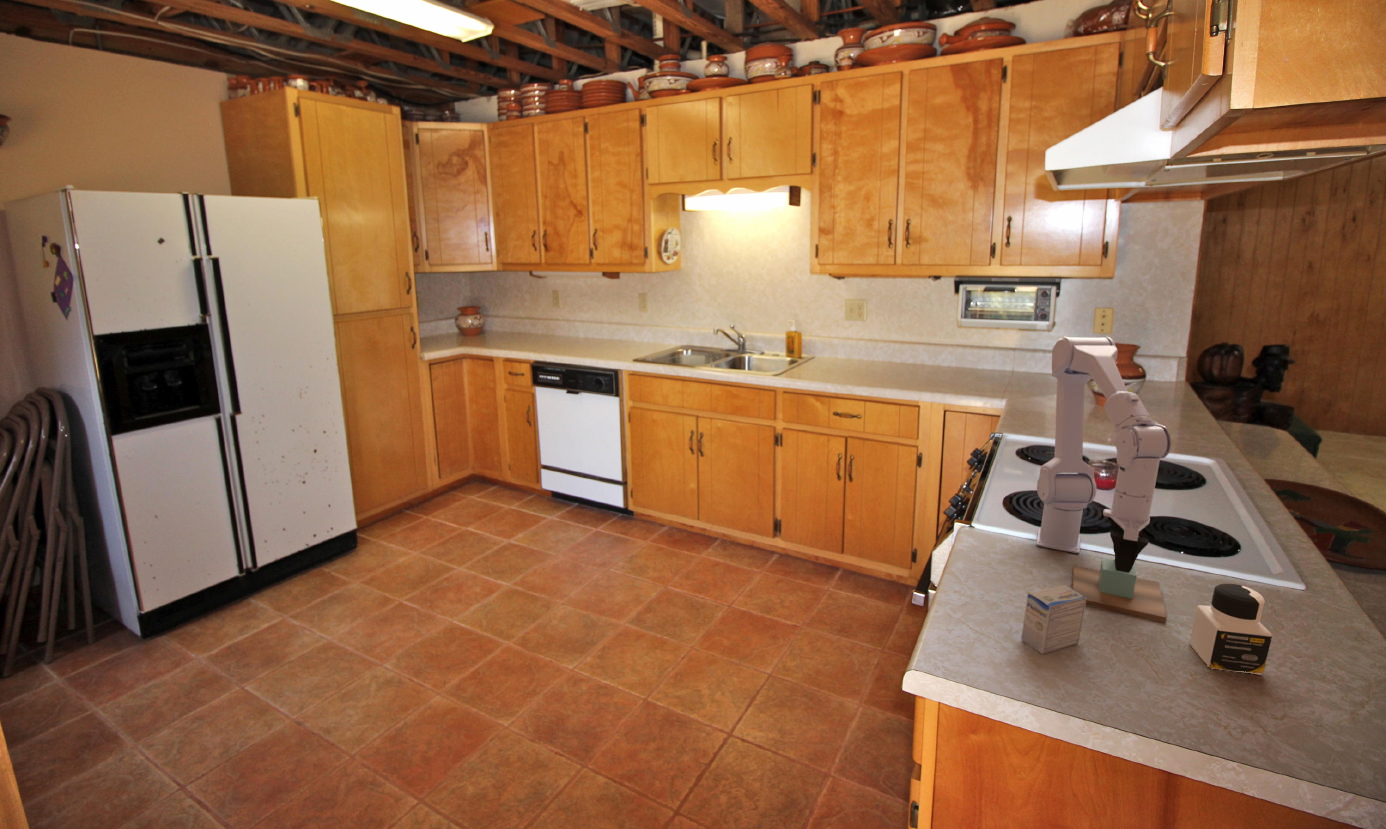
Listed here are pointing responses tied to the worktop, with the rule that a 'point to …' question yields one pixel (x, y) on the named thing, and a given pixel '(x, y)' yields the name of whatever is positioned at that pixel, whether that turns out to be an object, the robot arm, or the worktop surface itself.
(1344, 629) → the worktop surface
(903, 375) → the worktop surface
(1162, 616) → the board
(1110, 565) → the sage green cube
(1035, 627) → the medicine box
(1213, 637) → the medicine bottle
